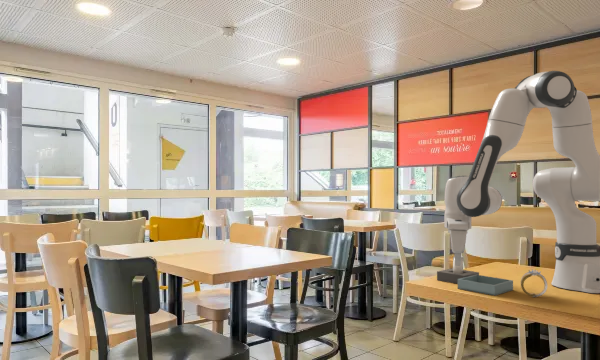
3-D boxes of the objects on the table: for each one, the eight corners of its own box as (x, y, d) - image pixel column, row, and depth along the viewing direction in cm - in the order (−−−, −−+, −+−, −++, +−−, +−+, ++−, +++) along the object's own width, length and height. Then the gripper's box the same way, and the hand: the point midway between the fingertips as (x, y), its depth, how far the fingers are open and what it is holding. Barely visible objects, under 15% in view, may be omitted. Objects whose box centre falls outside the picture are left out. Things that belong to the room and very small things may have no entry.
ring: (546, 297, 132) (546, 269, 132) (548, 299, 129) (548, 271, 129) (520, 294, 134) (520, 268, 134) (521, 297, 131) (521, 269, 131)
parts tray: (476, 283, 150) (476, 274, 150) (513, 290, 141) (513, 280, 141) (457, 288, 142) (457, 279, 142) (494, 295, 133) (494, 285, 133)
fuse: (461, 279, 156) (461, 256, 156) (464, 281, 153) (464, 258, 153) (452, 279, 156) (452, 256, 157) (454, 281, 153) (454, 258, 153)
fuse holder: (452, 276, 162) (452, 268, 162) (479, 281, 154) (479, 272, 154) (437, 280, 155) (437, 271, 155) (463, 284, 148) (463, 275, 148)
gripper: (447, 221, 165) (447, 259, 164) (448, 224, 145) (447, 267, 145) (466, 221, 163) (465, 260, 162) (468, 225, 144) (468, 268, 143)
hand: (457, 263), depth 154 cm, fingers open, 8 cm apart
